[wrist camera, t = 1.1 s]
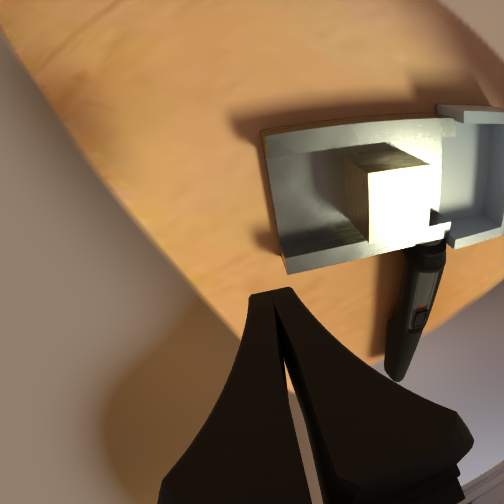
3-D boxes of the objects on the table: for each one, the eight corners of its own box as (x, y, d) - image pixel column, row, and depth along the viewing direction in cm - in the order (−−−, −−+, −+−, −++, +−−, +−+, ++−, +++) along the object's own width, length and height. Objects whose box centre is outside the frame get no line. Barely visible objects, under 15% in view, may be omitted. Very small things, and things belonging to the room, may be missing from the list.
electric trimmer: (370, 364, 29) (381, 389, 26) (398, 224, 20) (421, 247, 18) (402, 355, 29) (415, 378, 26) (438, 219, 21) (463, 239, 18)
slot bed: (436, 112, 17) (455, 118, 15) (433, 223, 21) (449, 236, 19) (259, 130, 17) (265, 136, 15) (281, 257, 21) (287, 274, 19)
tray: (491, 106, 16) (518, 113, 14) (484, 218, 21) (505, 234, 19) (436, 104, 16) (463, 110, 14) (432, 230, 21) (454, 249, 19)
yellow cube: (400, 149, 17) (431, 164, 14) (400, 207, 19) (428, 230, 16) (342, 156, 17) (367, 173, 14) (346, 217, 19) (369, 243, 16)
